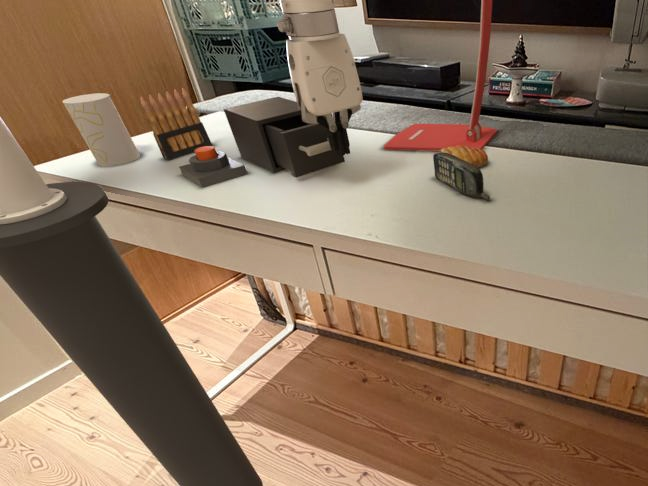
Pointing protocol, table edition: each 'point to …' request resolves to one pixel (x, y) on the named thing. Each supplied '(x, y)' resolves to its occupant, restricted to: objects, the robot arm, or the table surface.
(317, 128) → the drawer
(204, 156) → the button
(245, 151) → the cabinet
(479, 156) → the pastry
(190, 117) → the ammunition clip
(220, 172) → the control block
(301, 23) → the robot arm
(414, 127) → the desk lamp
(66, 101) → the white patterned cylinder
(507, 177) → the table surface
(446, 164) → the mobile phone
